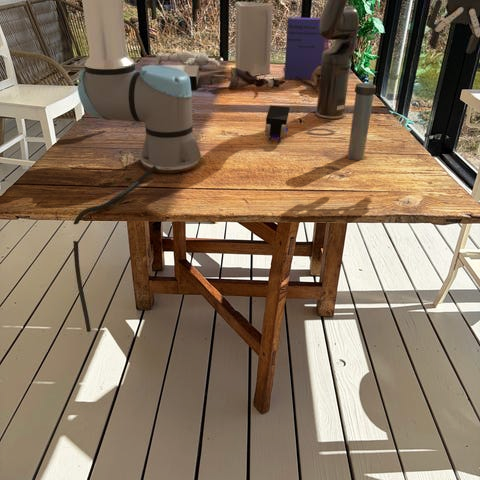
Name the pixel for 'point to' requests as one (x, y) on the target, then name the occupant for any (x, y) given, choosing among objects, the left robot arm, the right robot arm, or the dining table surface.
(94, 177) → the dining table surface
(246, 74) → the figurine
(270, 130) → the figurine character
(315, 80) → the anatomical model
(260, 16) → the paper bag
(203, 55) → the toy
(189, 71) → the disc drive
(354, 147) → the grey cylinder
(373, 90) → the lid
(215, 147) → the dining table surface
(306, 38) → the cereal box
